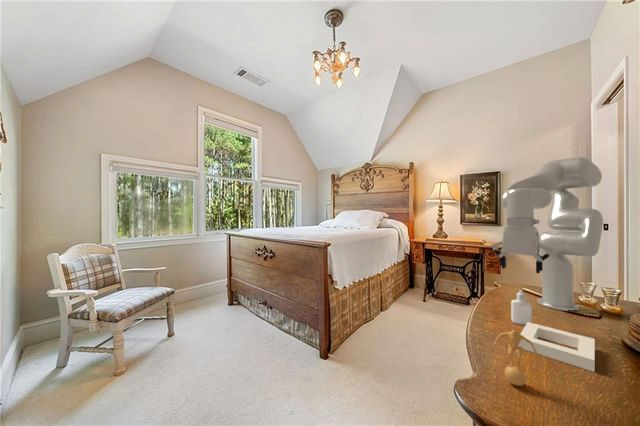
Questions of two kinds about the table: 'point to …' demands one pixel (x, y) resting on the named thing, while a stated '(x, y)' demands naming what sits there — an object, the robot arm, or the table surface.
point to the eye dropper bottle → (521, 310)
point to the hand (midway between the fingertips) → (520, 270)
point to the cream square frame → (570, 356)
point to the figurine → (512, 372)
